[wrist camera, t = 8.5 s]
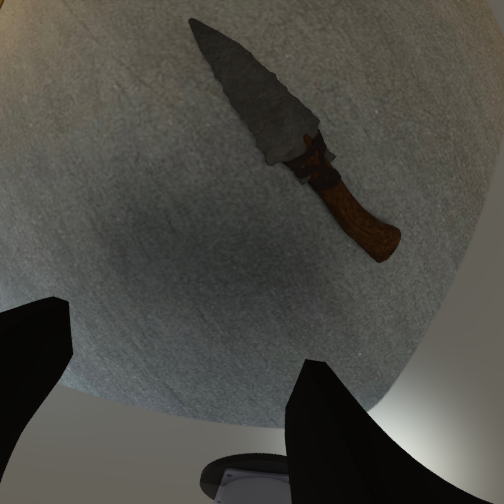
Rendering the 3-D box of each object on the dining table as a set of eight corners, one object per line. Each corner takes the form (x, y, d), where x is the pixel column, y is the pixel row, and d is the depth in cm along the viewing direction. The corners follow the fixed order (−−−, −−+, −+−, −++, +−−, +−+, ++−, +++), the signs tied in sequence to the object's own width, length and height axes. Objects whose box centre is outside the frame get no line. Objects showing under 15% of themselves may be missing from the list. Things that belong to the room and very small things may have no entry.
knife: (415, 248, 15) (343, 300, 14) (392, 246, 17) (324, 292, 16) (266, -15, 12) (180, 8, 12) (257, 6, 14) (180, 30, 14)
